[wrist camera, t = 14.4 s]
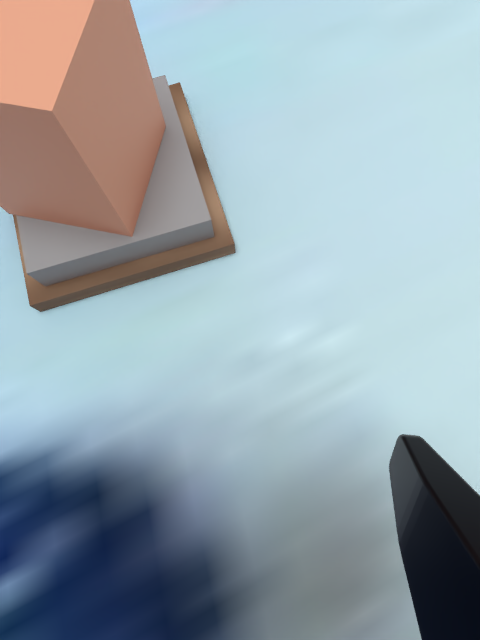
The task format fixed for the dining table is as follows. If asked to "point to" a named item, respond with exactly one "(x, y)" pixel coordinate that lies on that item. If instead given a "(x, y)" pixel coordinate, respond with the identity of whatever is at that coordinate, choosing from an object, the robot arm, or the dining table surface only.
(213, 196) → the tower base block
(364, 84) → the dining table surface
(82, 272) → the grey square slab
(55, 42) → the terracotta block
